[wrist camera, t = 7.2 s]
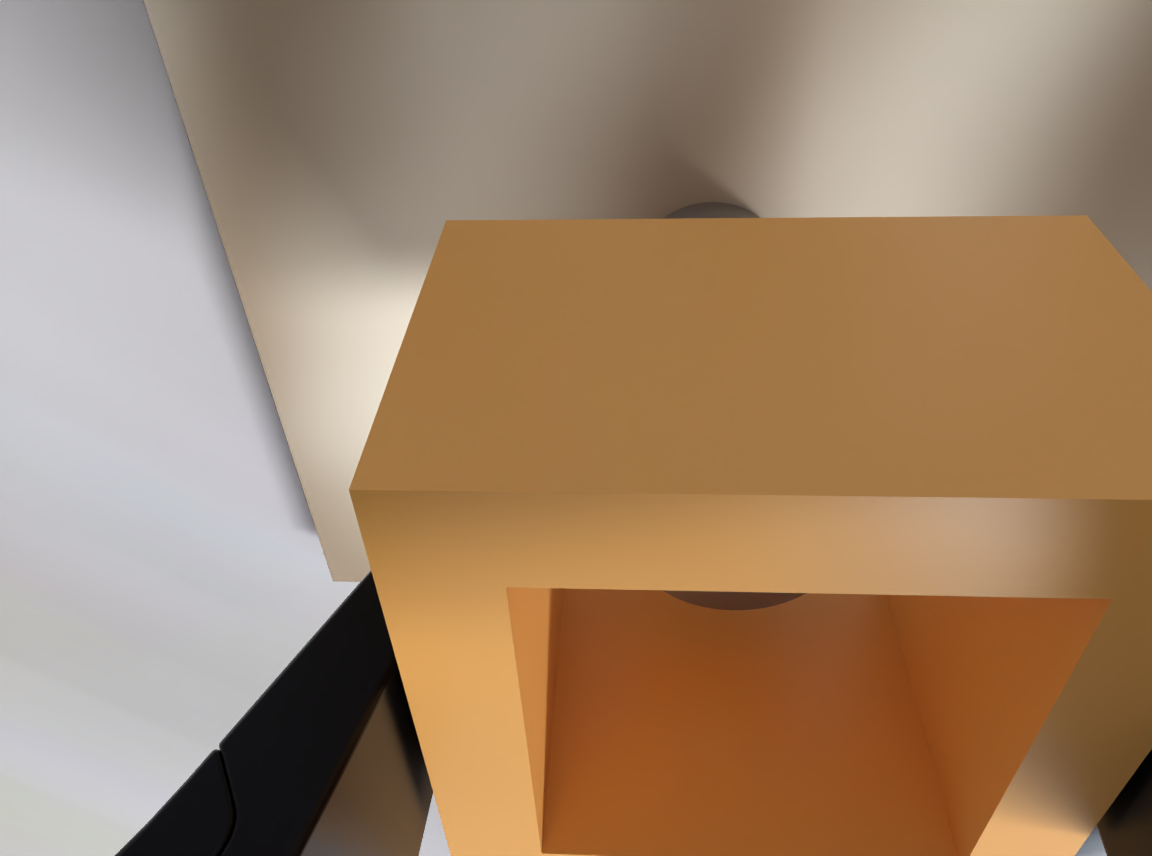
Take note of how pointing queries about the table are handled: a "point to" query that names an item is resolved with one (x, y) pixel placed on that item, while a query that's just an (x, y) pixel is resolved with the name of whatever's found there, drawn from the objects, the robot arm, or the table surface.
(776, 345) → the orange square ring
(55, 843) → the table surface
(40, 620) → the table surface
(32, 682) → the table surface
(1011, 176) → the post board
